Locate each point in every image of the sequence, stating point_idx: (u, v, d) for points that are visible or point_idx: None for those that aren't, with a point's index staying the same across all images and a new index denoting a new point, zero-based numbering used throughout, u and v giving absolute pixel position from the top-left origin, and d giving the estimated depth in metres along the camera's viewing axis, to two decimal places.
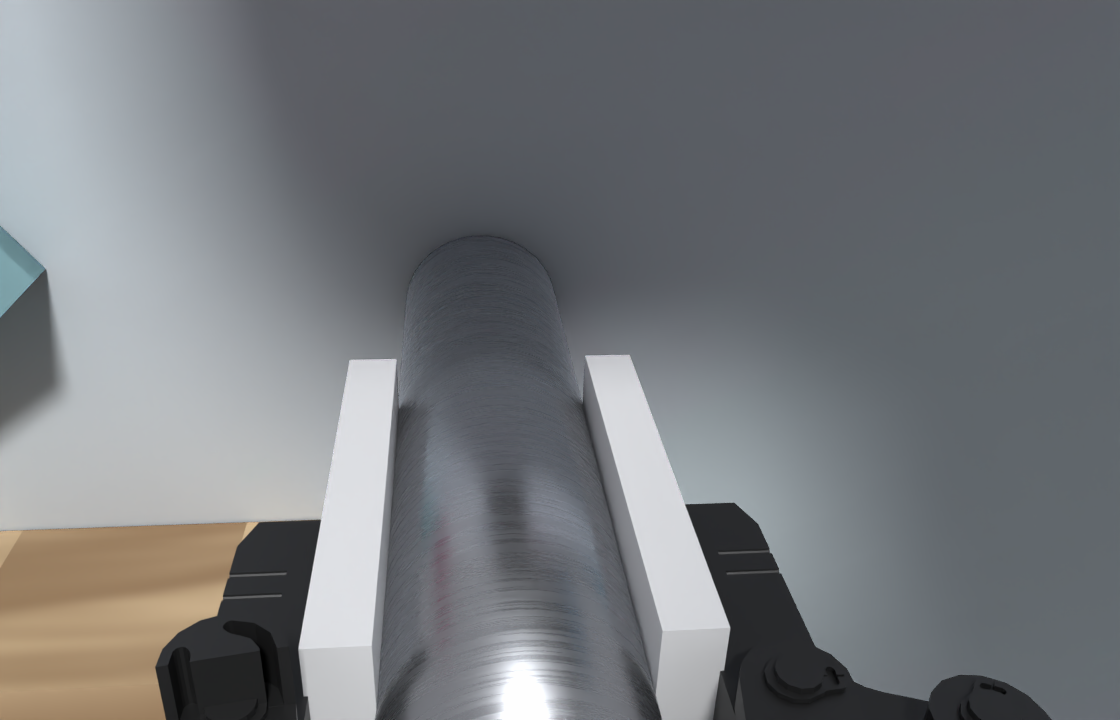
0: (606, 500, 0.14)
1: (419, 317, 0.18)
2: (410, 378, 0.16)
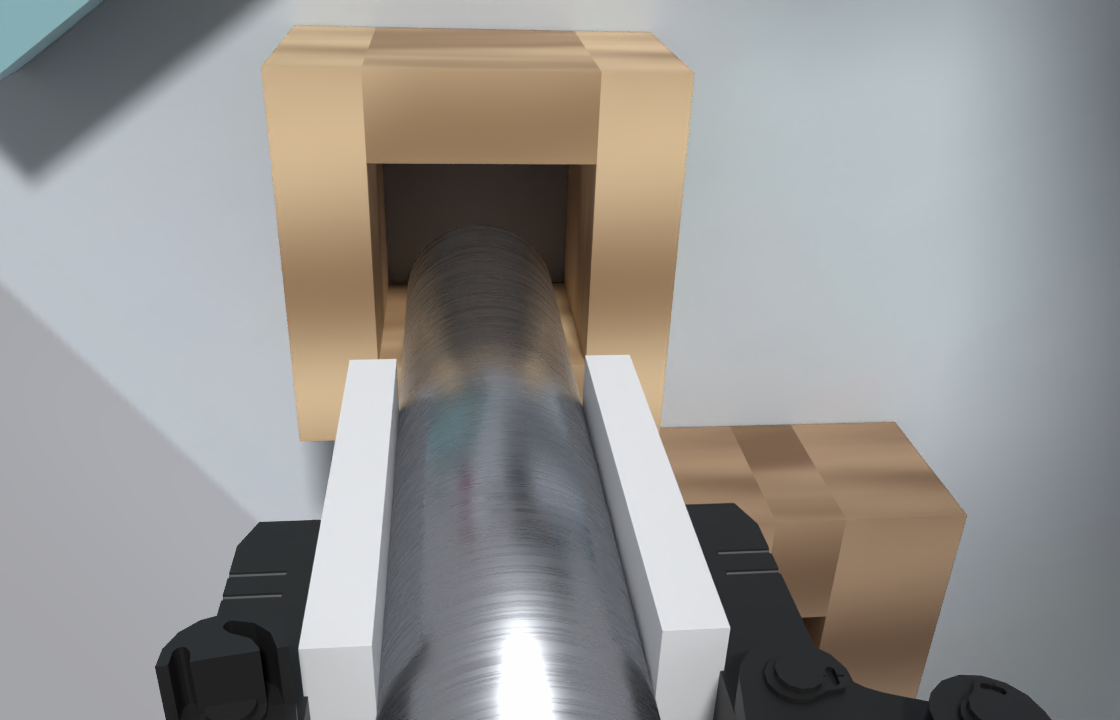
0: None
1: (420, 303, 0.19)
2: (411, 360, 0.17)
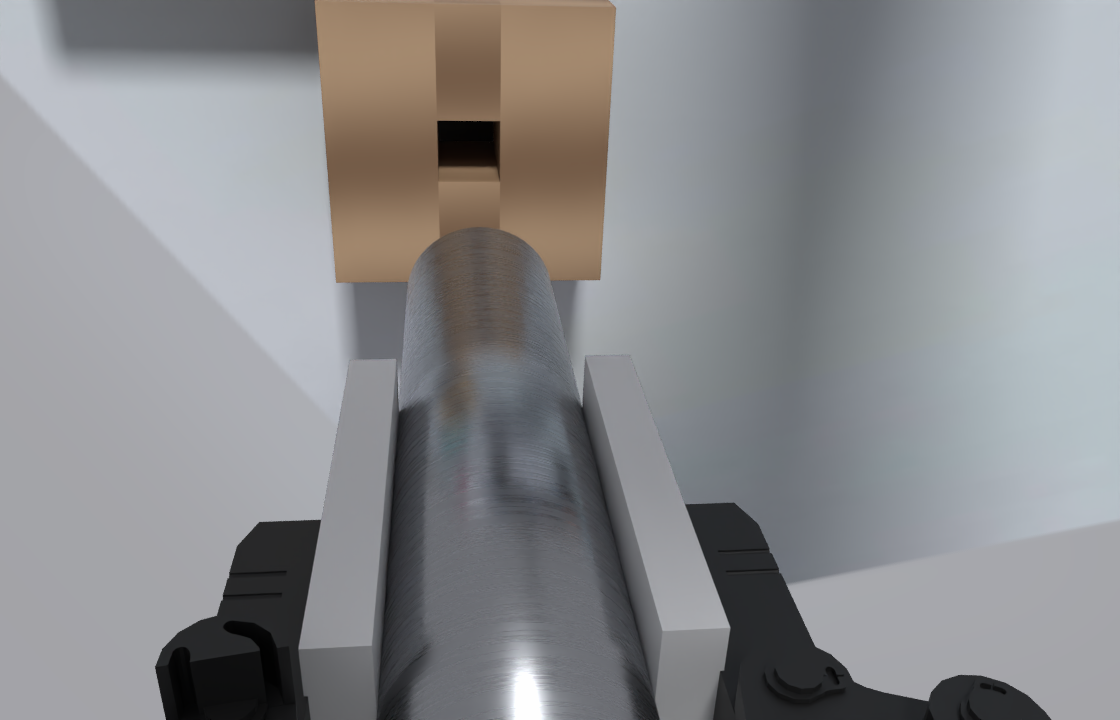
0: (599, 479, 0.15)
1: (420, 305, 0.19)
2: (411, 362, 0.17)
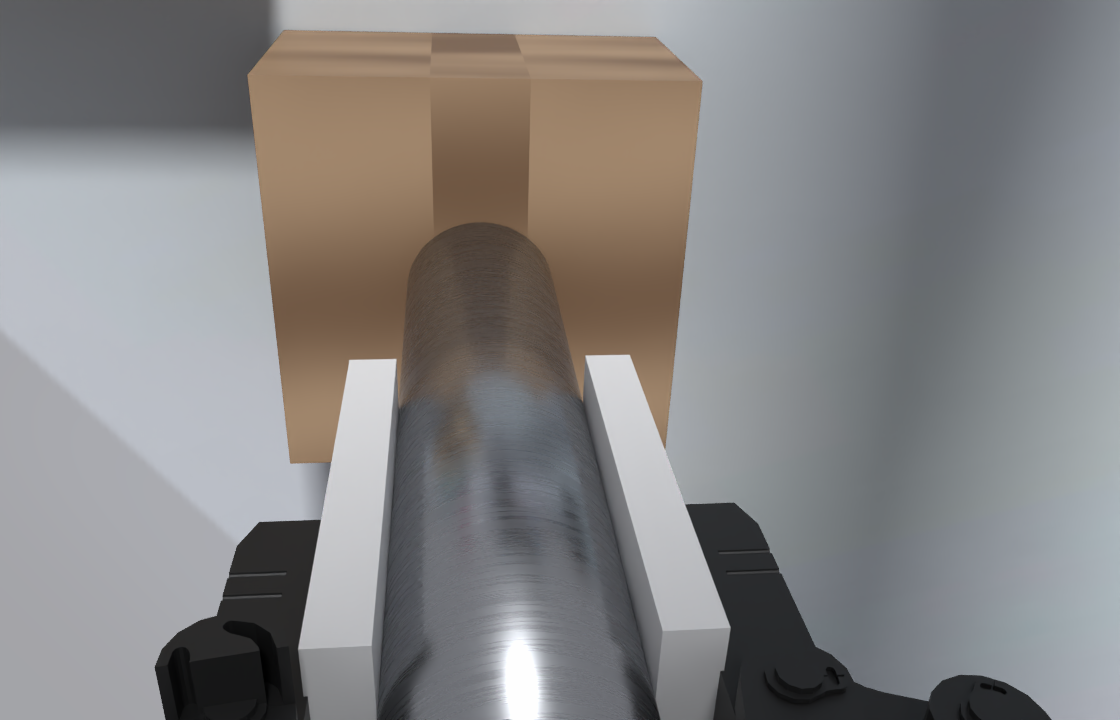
0: (601, 480, 0.15)
1: (420, 301, 0.19)
2: (411, 361, 0.17)
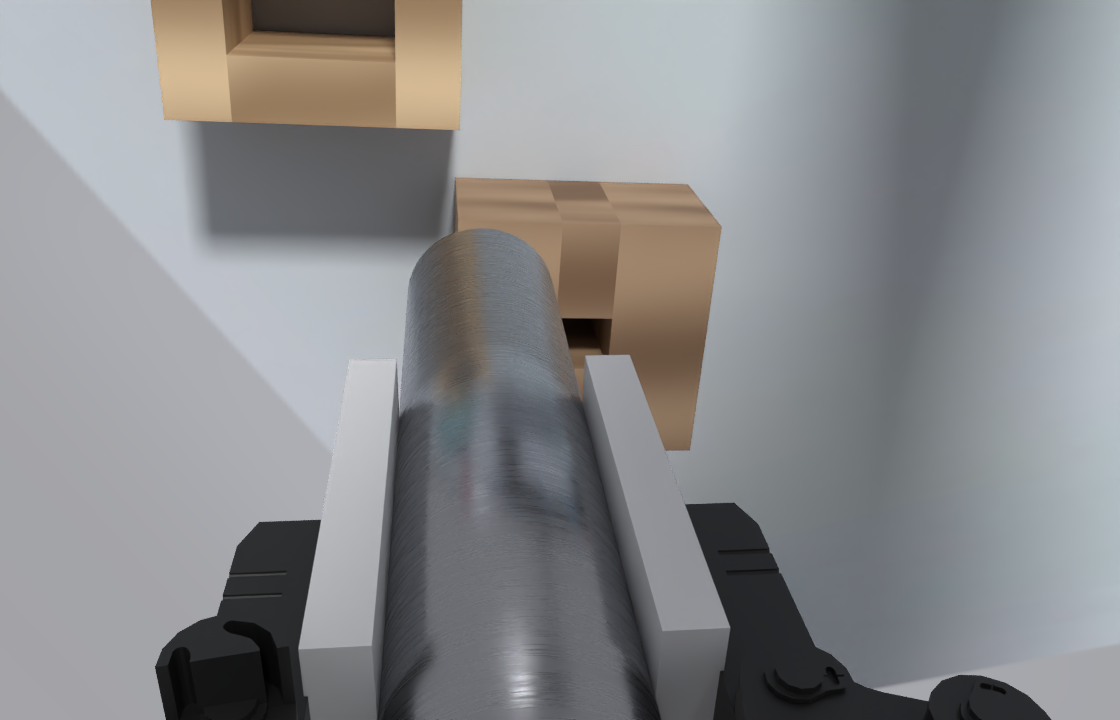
0: (602, 485, 0.15)
1: (421, 307, 0.19)
2: (412, 367, 0.17)
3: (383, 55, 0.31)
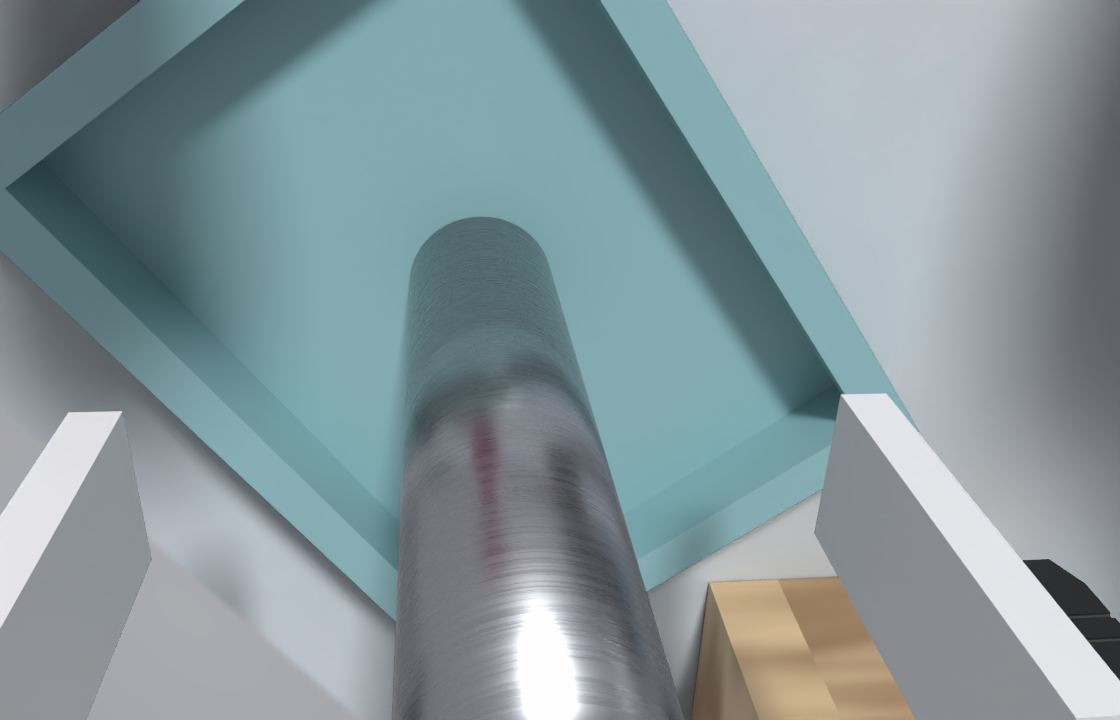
0: (604, 451, 0.15)
1: (424, 290, 0.19)
2: (418, 344, 0.17)
3: None
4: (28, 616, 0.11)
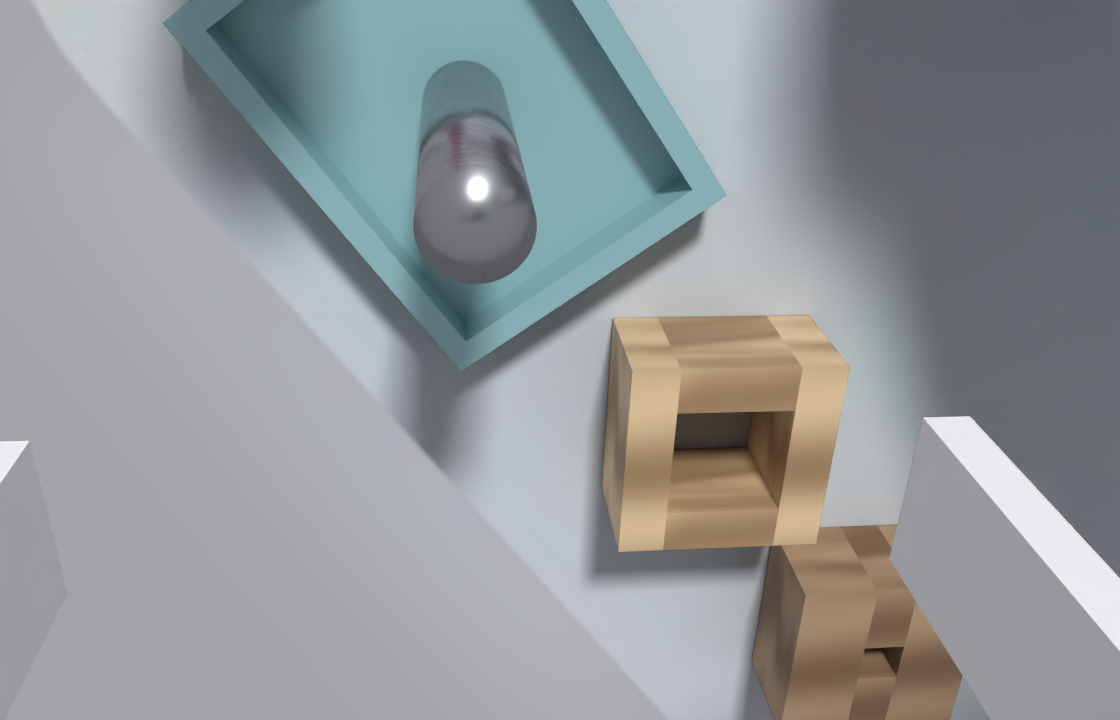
0: (518, 146, 0.31)
1: (431, 91, 0.35)
2: (427, 109, 0.33)
3: (762, 493, 0.44)
4: None
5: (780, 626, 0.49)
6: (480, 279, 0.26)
